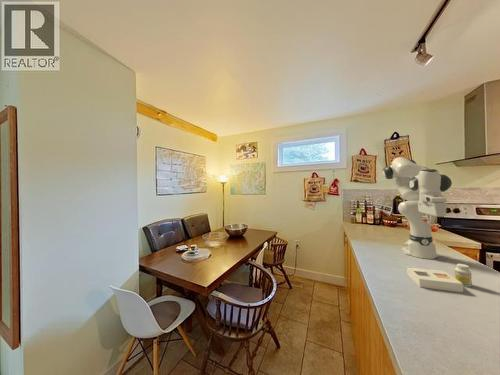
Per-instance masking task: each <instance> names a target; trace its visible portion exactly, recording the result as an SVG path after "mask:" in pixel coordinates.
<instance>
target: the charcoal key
mask: <svg viewBox="0 0 500 375" xmlns="http://www.w3.org/2000/svg"><path fill="white" fill-rule="evenodd" d="M415 273H416V274H417V275H419V276H428V275H427V274H426V273H417V272H415ZM429 277H430V276H429Z"/></svg>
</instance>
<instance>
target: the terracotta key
mask: <svg viewBox="0 0 500 375" xmlns="http://www.w3.org/2000/svg"><path fill="white" fill-rule="evenodd" d="M436 276H437V277H438V278H447V279H450V278H448V277H447V276H444V275H436Z"/></svg>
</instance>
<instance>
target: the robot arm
mask: <svg viewBox="0 0 500 375" xmlns="http://www.w3.org/2000/svg"><path fill="white" fill-rule="evenodd" d="M382 175H383V177H384V178H385V179H386V180H393V179H395V180H394V182H395V185H396V189H397V190H398V192H399V194H400V195H401V198H402V199H403V200H405V201H401V202H400V203H399V204H398V206H397V210H398V212H399V214H401V215H402V216H404V217H405V218H406V220H407V221H408V224H409V232H410V234H409V236H408V240H407V241H405V242H404V243H403V246H402V248H401V249H402V251H403V253H404V254H405V255H408V256H411V257H412V256H413V257H415V258H418V259H419V258H421V259H427V260H429V259H430V260H433V259H436V258H439V257H440V255H439V254H437V250H436V249H437V248H436V244H435V243H433V240H434V238H433V235H432V226H431V223H432V224H434V223H435V219H436V218H438V217H439V218H441V217H442V218H444V217H446V215H447V204H446V203H447V201H448V199H447V198H446V197H445V196H443V195H442V193H443V192H447V191H448V190H449V189H450V188H451V187H452V184H453V182H452V180H451V178H450V177H449V176H447V175H446V174H440V172H439V170H437V169H434V168H431V169H430V168H428V167H426V166H422V165H419V164H418V163H417V162H416V161H415V160H413V159H408V158H406V157H404V156H398V157H395V158H394V159H393V160H392V162H391V165H387V166H385V167H384V168H383V169H382ZM423 217H426V219H427V221H424V219H423Z"/></svg>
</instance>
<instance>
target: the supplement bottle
mask: <svg viewBox="0 0 500 375" xmlns="http://www.w3.org/2000/svg"><path fill="white" fill-rule="evenodd" d="M454 273H455V274H454V278H455V279H457V280H458V281H460V282H461V283H462V284H463V287H466V288H469V287H472V286H473V284H472V283H473V282H472V271H471V270H470V266H469V265H467V264H464V263H457V264H456V267H455V268H454Z"/></svg>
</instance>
